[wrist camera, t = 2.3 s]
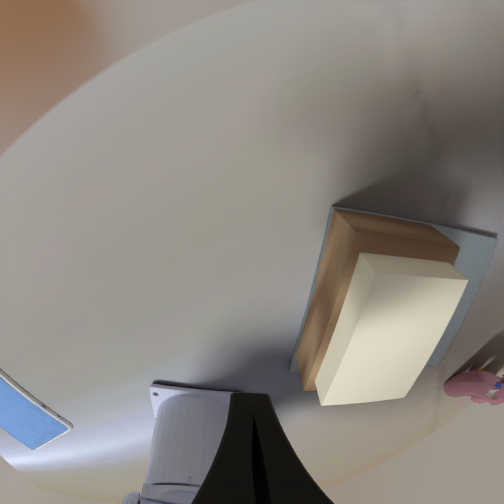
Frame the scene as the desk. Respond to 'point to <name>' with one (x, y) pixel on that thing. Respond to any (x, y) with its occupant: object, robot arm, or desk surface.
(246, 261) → the desk surface
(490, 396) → the video game controller
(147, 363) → the desk surface
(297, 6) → the desk surface
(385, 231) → the brown wooden block
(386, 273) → the cream rectangular block
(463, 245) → the mat
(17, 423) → the tablet computer
